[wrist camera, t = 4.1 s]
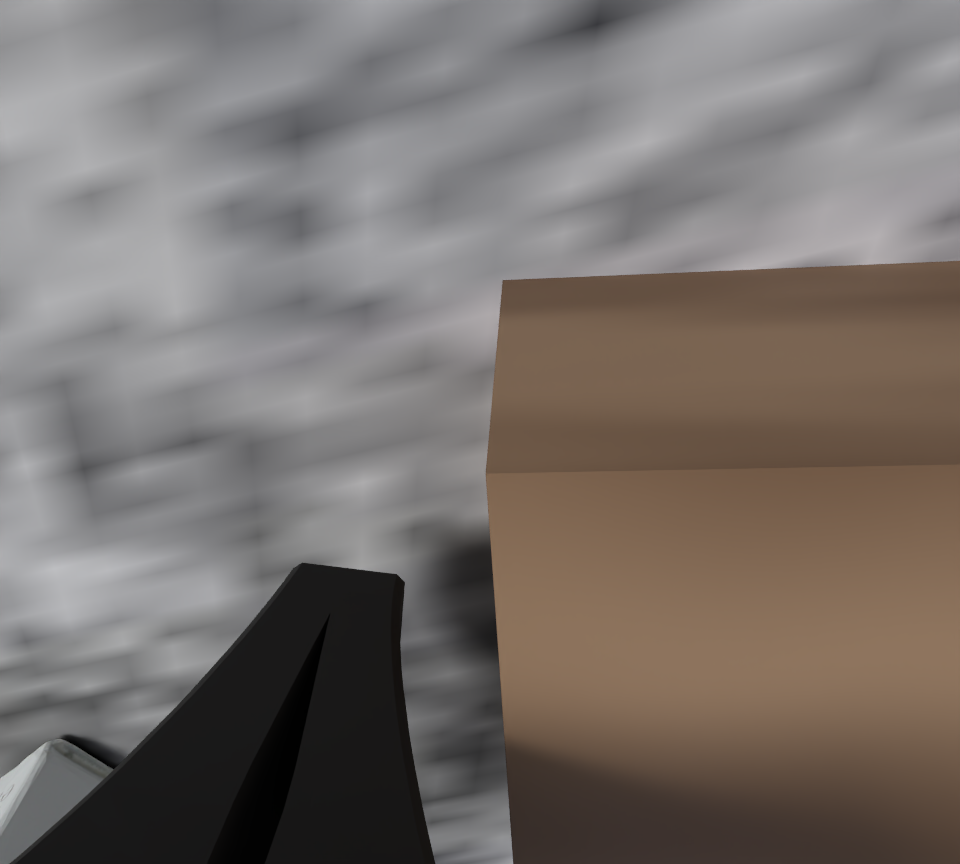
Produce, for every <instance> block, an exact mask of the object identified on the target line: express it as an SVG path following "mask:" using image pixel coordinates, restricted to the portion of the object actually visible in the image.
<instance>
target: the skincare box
mask: <svg viewBox="0 0 960 864" xmlns="http://www.w3.org/2000/svg"><path fill="white" fill-rule="evenodd" d="M113 770H114V769H112V768H110V767H108V766H107V765H105V764H104V763H102V762H100V761H99V760H97V759H95V758H94V757H92V756H91V755H89V754H87V753H86V752H84V751H83V750H81V749H80V748H78V747H76V746H75V745H73V744H71V743H69V742H67V741H65V740H63V739H55V740H51V741H47V742H46V743H45V744H43V745H42V746H41V747H40V748H38V749H37V750H36V751H35V752H33V753H32V754H31V755H29V756H28V757H27V758H25V759H24V760H23V761H22V762H21V763H20V764H19V765H18V766H17V767H16V768H14V769H13V770H11V771H10V772H9V773H7V774H6V775H4V776H3V777H1V778H0V864H10V863H11V862H12V861H13V860H14V859H16V858H17V857H18V856H19V855H20V854H21V853H23V852H24V851H25V850H26V849H27V848H28V847H30V846H31V845H32V844H33V843H34V842H35V841H36V840H37V839H39V838H40V837H41V836H42V835H43V834H44V833H45V832H46V831H48V830H49V829H50V828H51V827H52V826H53V825H54V824H55V823H57V822H58V821H59V820H60V819H61V818H62V817H63V816H64V815H66V814H67V813H68V812H69V811H70V810H71V809H72V808H73V807H74V806H75V805H77V804H78V803H79V802H80V801H81V800H82V799H83V798H84V797H85V796H86V795H87V794H89V793H90V792H91V791H92V790H93V789H94V788H95V787H96V786H97V785H98V784H99V783H100V782H101V781H102V780H103V779H104V778H105V777H106V776H108V775H109V774H110V773H111V772H112V771H113Z"/></svg>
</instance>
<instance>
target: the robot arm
mask: <svg viewBox="0 0 960 864" xmlns="http://www.w3.org/2000/svg"><path fill="white" fill-rule="evenodd" d="M404 586H405V582H404V581H403V580H402V579H401V578H400V577H399V576H398V575H397V574H390V573H381V572H373V571H365V570H357V569H349V568H341V567H332V566H324V565H316V564H308V563H301V564H299V565H298V566H296V567H295V568H293V570H292V571H291V572H290V574H289V575H288V576H287V578H286V579H285V581H284V582H283V583H282V585H281V586H280V587H279V588H278V590H277V591H276V592H275V594H274V595H273V596H272V597H271V599H270V600H269V601H268V603H267V604H266V605H265V606H264V608H263V609H262V610H261V611H260V612H259V614H258V615H257V616H256V617H255V619H254V620H253V621H252V622H251V623H250V625H249V626H248V627H247V628H246V629H245V631H244V632H243V633H242V634H241V635H240V636H239V638H238V639H237V640H236V641H235V642H234V644H233V645H232V646H231V647H230V648H229V649H228V650H227V652H226V653H225V654H224V655H223V656H222V657H221V658H220V659H219V660H218V662H217V663H216V664H215V665H214V666H213V667H212V668H211V669H210V670H209V672H208V673H207V674H206V675H205V676H204V677H203V678H202V679H201V680H200V682H199V683H198V684H197V685H196V686H195V687H194V688H193V689H192V690H191V692H190V693H189V694H188V695H187V696H186V697H185V698H184V699H183V700H182V701H181V702H180V703H179V704H178V705H177V707H176V708H175V709H174V710H173V711H172V712H171V713H170V714H169V715H168V716H167V717H166V718H165V719H164V720H163V721H162V722H161V723H160V724H159V725H158V726H157V727H156V728H155V729H154V730H153V731H152V732H151V733H150V734H149V735H148V736H147V737H146V738H145V739H144V740H143V741H142V742H141V743H140V744H139V745H138V746H137V747H136V748H135V749H134V750H133V751H132V752H131V753H130V754H129V755H128V756H127V757H126V758H125V759H124V760H123V761H122V762H121V763H120V764H119V765H118V766H117V767H116V768H115V769H114V770H113V771H112V772H111V773H110V774H109V775H108V776H106V777H105V778H104V779H103V780H102V781H101V782H100V783H99V784H98V785H97V786H96V787H95V788H94V789H93V790H92V791H91V792H90V793H89V794H87V795H86V796H85V797H84V798H83V799H82V800H81V801H80V802H79V803H78V804H77V805H75V806H74V807H73V808H72V809H71V810H70V811H69V812H68V813H67V814H66V815H64V816H63V817H62V818H61V819H60V820H59V821H58V822H57V823H55V824H54V825H53V826H52V827H51V828H50V829H49V830H48V831H46V832H45V833H44V834H43V835H42V836H41V837H40V838H39V839H37V840H36V841H35V842H34V843H33V844H32V845H31V846H30V847H28V848H27V849H26V850H25V851H24V852H23V853H21V854H20V855H19V856H18V857H17V858H16V859H14V860H13V861H12V862H11V863H10V864H435V861H434V856H433V852H432V848H431V843H430V839H429V835H428V830H427V826H426V821H425V816H424V812H423V807H422V802H421V797H420V792H419V787H418V781H417V776H416V771H415V766H414V760H413V754H412V748H411V742H410V736H409V728H408V721H407V713H406V705H405V698H404V690H403V680H402V669H401V651H400V638H401V625H402V612H403V599H404Z"/></svg>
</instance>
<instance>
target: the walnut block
mask: <svg viewBox="0 0 960 864" xmlns="http://www.w3.org/2000/svg"><path fill="white" fill-rule="evenodd" d="M486 484H487V498H488V512H489V526H490V540H491V555H492V569H493V583H494V597H495V611H496V625H497V639H498V653H499V668H500V682H501V696H502V710H503V724H504V738H505V752H506V766H507V780H508V795H509V809H510V823H511V837H512V851H513V864H960V261H948V262H925V263H901V264H877V265H854V266H830V267H806V268H782V269H759V270H735V271H711V272H688V273H664V274H640V275H617V276H593V277H569V278H546V279H522V280H503V284H502V295H501V307H500V318H499V329H498V341H497V352H496V363H495V375H494V386H493V397H492V409H491V420H490V431H489V443H488V454H487V465H486Z"/></svg>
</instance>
